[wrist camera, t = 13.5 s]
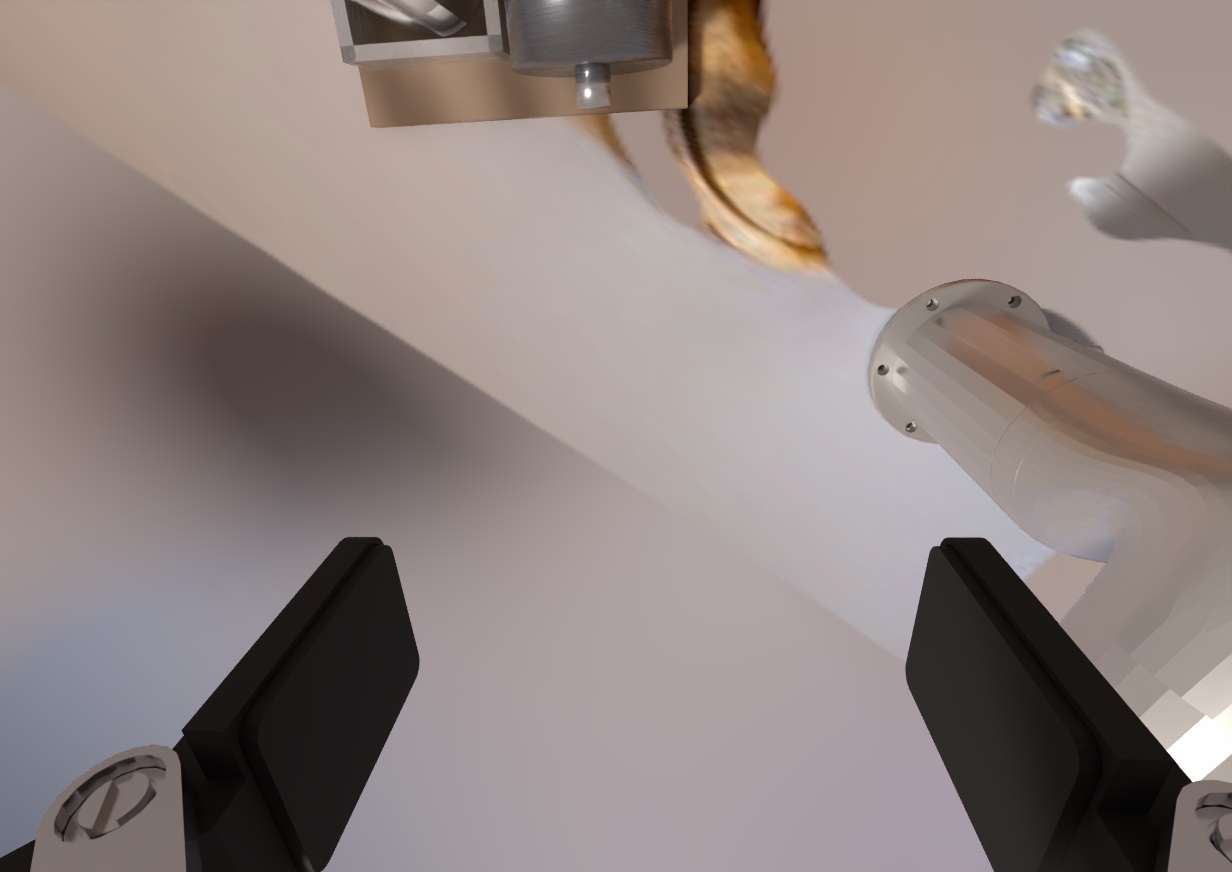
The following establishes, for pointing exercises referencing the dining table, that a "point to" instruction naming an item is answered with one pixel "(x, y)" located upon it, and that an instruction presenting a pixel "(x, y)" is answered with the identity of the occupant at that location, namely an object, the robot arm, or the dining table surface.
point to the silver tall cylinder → (426, 14)
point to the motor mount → (521, 61)
